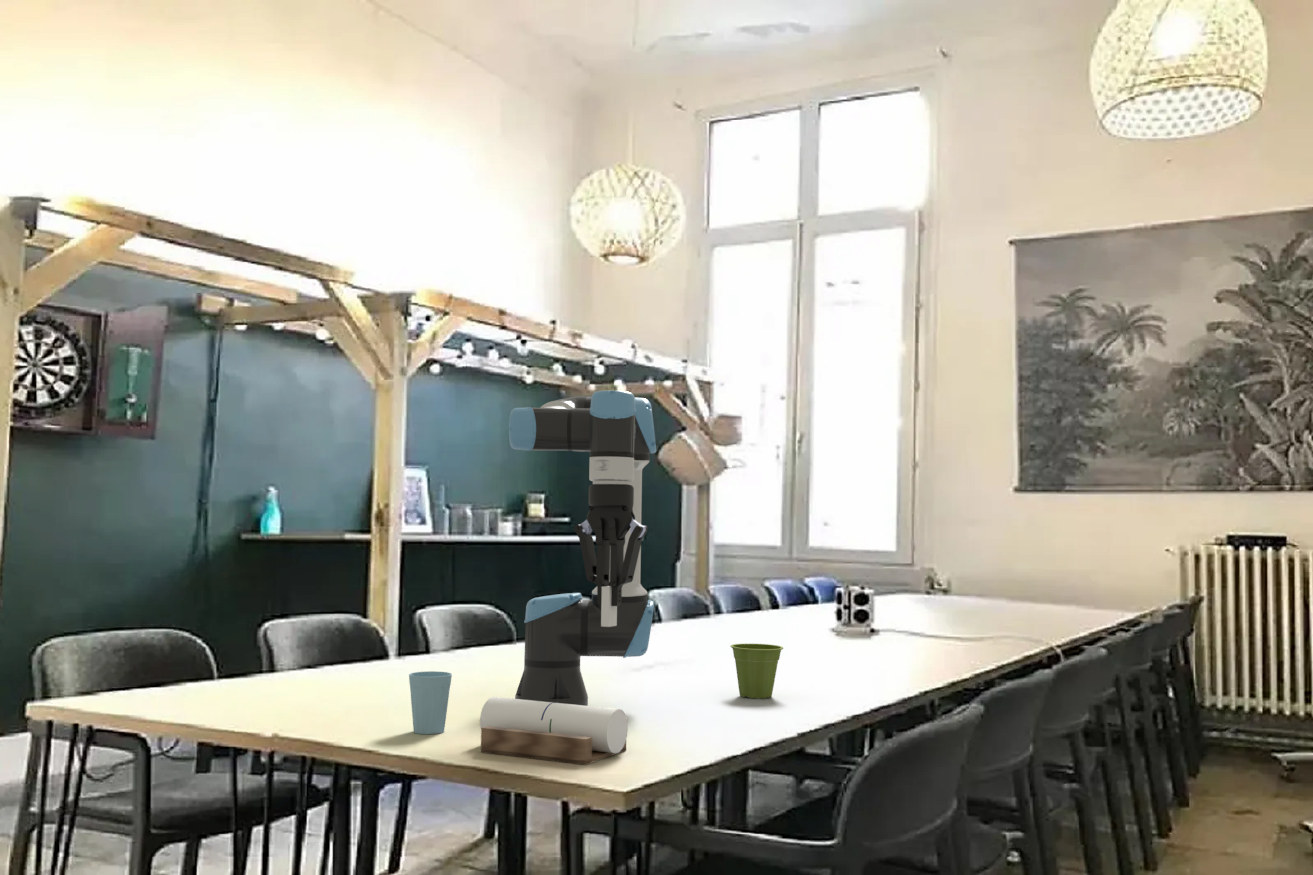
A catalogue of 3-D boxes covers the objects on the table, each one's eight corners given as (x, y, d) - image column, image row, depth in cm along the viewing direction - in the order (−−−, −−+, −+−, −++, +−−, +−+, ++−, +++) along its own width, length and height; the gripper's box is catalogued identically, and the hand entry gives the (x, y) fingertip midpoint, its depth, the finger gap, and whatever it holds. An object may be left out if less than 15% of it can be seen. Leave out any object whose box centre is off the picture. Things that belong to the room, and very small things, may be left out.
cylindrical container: (614, 701, 194) (489, 689, 206) (602, 742, 190) (475, 728, 202) (631, 720, 199) (508, 707, 211) (620, 760, 195) (494, 745, 207)
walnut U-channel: (480, 752, 197) (481, 727, 197) (526, 739, 209) (526, 716, 209) (585, 764, 188) (585, 739, 188) (626, 750, 200) (626, 726, 201)
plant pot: (749, 702, 257) (750, 649, 257) (719, 694, 267) (720, 644, 268) (793, 698, 262) (793, 647, 263) (762, 691, 273) (763, 642, 273)
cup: (447, 735, 211) (449, 676, 212) (404, 735, 211) (406, 676, 212) (452, 728, 219) (453, 671, 220) (410, 728, 218) (412, 671, 219)
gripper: (566, 482, 197) (563, 625, 195) (635, 482, 191) (633, 629, 189) (588, 484, 204) (585, 622, 202) (656, 484, 198) (654, 626, 196)
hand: (608, 625), depth 196 cm, fingers closed
